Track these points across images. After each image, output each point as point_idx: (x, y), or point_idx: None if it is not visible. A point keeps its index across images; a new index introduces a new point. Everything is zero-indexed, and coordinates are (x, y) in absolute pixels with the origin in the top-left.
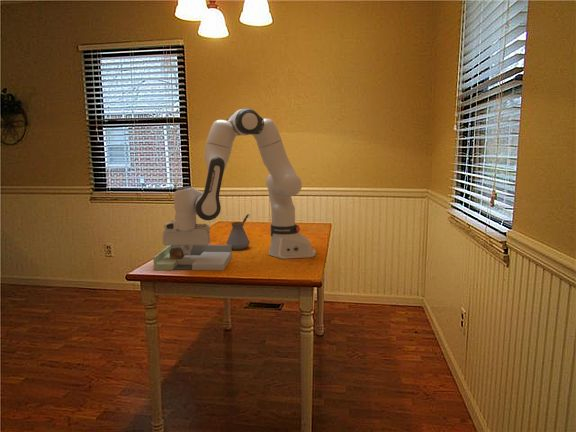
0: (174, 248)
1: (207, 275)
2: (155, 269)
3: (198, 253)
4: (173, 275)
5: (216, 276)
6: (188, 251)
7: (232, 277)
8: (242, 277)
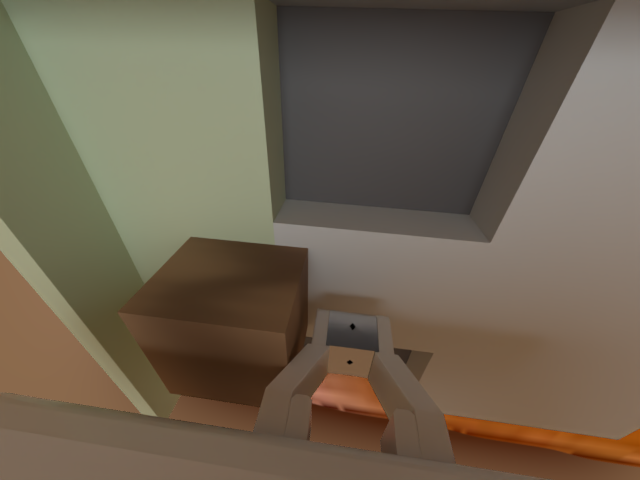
0: (178, 356)
1: (475, 423)
2: None
3: (488, 3)
4: (320, 400)
5: (515, 435)
6: (369, 378)
7: (586, 451)
8: (635, 459)
